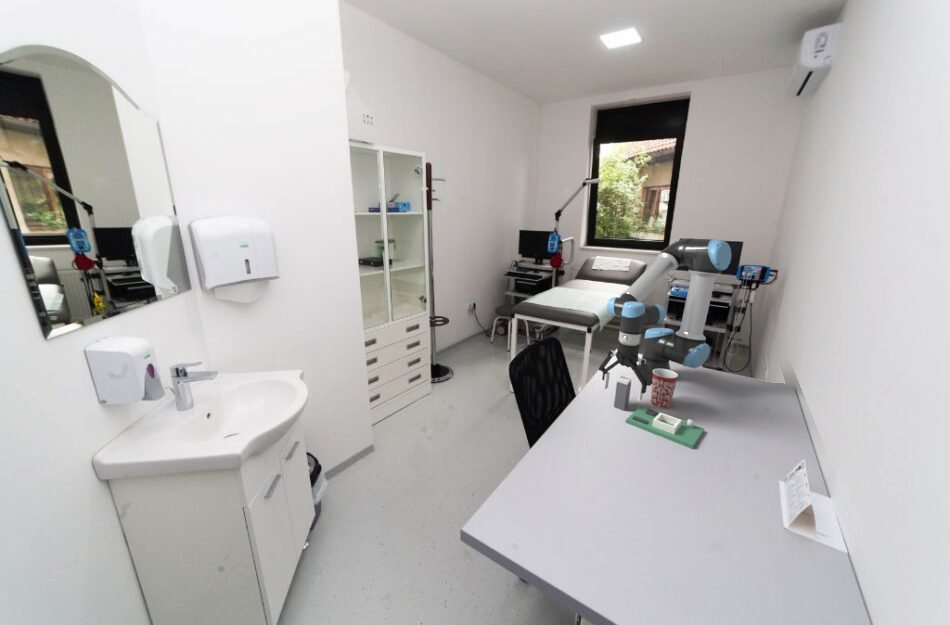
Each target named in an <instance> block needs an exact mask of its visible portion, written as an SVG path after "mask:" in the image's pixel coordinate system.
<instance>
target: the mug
mask: <svg viewBox="0 0 950 625" xmlns="http://www.w3.org/2000/svg"><path fill="white" fill-rule="evenodd" d="M678 378H679V373H677V372H675V371H673V370H667V369H654V370H653V380H652V381H653V384H652V385H651V392H650V393H651V395H650V403H651V404H652V405H654V406H655V407H658V408H660V409H668V408H671V405H672V402H673V397H674V393H675V388H676V384H677V380H678Z"/></svg>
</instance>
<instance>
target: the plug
mask: <svg viewBox="0 0 950 625" xmlns="http://www.w3.org/2000/svg"><path fill="white" fill-rule="evenodd" d="M632 381H633V380H632V379H631V378H628V377H626V376H622V375H620V377H618V378H616V386H615V393H614V394H615V396H614V403H613V405H614V406H613V408H616V409H619V410H621V411H625V410H626V409H628V408H629V404H630V403H629V401H630V394H631V387H632Z"/></svg>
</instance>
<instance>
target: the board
mask: <svg viewBox="0 0 950 625" xmlns="http://www.w3.org/2000/svg"><path fill="white" fill-rule="evenodd" d="M625 423H626V424H628V425H631V426H633V427H636V428H638V429H641V430H643V431H646V432H648V433H651V434H653V435H656V436H658V437H659V436H660V437H662V438H665V439H666V440H669V441H672V442H675V443H677V444H679V445H682V446H685V447H687V448H689V449H694V447H695V446H696V444H697V443H698V441H699V440H700V439H701V436H703V434H704V432H705V428H704V427H701V426H699V425H696V424H695V421H694V420H693V419H690V418H689V419H688V418H687V421H684V420H682V419H680V418H677V417H675V416H671V415H669V414H665V413H662V412H658V411H656V410H653V409H649V408H647V407H644V406H642V405H641V406H639V407H638V408H637V409H635V411H634V412H633V413H631V415H629V416H628V417H627V418H626V419H625Z"/></svg>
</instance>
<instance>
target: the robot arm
mask: <svg viewBox="0 0 950 625" xmlns="http://www.w3.org/2000/svg"><path fill="white" fill-rule="evenodd" d="M659 252H660V253H658V255H657V256H656V259H655V261H654V262H653V263H652V264H651V265H650V266H649V267H648V268H647V269H646V270H645V271H644V272H643V273H642V274H641V275H640V276H639V277H638V278H637V279H636V280H635V281H634V282H633V283H632V284H631V285H630V286H629V287H628V288H627V290H625V291H624V292H623V293H622V294H621V295H620V297H617V296H615V297H611V298H609V300H608V301H607V304H606V310H607V313H608V314H610V315H613V316H615V317H617V318H618V317H619V318H621V320H620V328H619V335H618V342H617V350H616V351H615V350H614V349H611V350H609V351H608V353H607V356H606V358H605V359H604V360H603V362H602V363H601V364H600V366H599V367H598V371H600V372H602V379H601V380H602V381H603V387H602V389H603V390H607V389H608V388H609V380H610V374H611V373H610V372H609V371H610V370H612V369H614V367H616V366H617V365H620V366H622V367H623V366H624V367H626V368H630V369H631V370H632V371H633V373H634V374H635V376H636V377H637V378H638V379H637V380H639V382H640V384H639V386H638V387H639V388H638V395H637V402H641V401H642V400H643V396H644V394H645V393H647V388H648V387H650V386H652V384H653V381H652V380H653V370H654V369H667V370H671V365H670V362H673V363H676V364H678V365H681V366H683V367H687V368H690V369H697V368H699V367H701V366H702V365H703V364H705V362H706V361H707V359H708V358H709V354H710V351H711V348H710V345H709V344H708V343H707V342H706V341H707V339H706V336H705V335H704V330H705V325H706V322H707V316H708V311H709V308H710V303H711V299H712V294H713V289H714V286H715V280H716V278H717V277H719V276H721V274H722V271H725V270H727V268H729V265H730V264H731V260H732V248H731V247H730V244H729V243H728V242H726V241H725V240H721V239H713V238H712V239H710V238H683V239H679V240H677V241H675V242H673V243H671V244H670V245H668V246H666V247H665V248H664V249H663V250H661V251H659ZM682 266H686V267H688V271H687V272H689V274H690V275H691V277H690V280H689V285H688V290H687V295H686V299H685V303H684V309H683V314H682V318H681V324H680V328H679V330H678V331H674V329H672V328H668V327H667V328H666V327H653V328H648V329H646V331H645V334H644V337H643V338H644V340H643V348H642V355H641V356H642V357H641V358H640V357H639V352H640V343H641V337H642V329H643V327H646V326H655V325H658V324H660V323H663V322H664V321H665V319H666V315H667V314H666V309H665V308H664V307H663V306H662V305H660V304H646V303H643V301H644V299H645V298H646V297H648V295H650V294H651V293H652V291H654V289H656V287H657V286H658V285H659V284H660V283H661V282H662V281H663V280H664V279H665V278H666V277H667V276H668V275H669V273H671V272H673V271H676V270H677V269H678V268H679V267H682ZM613 357H616V359H617V360H615V361H614V362H613V363H612V364H610V365H609V366H607V365H608V364H609V363H610V361H611V360H612V358H613ZM671 371H672V370H671ZM647 386H648V387H647Z"/></svg>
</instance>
